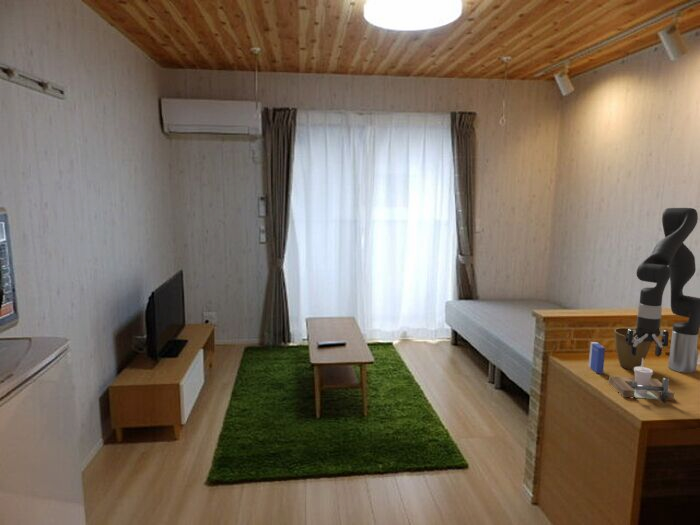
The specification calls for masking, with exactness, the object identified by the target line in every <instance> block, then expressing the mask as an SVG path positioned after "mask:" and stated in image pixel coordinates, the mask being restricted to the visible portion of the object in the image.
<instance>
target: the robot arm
mask: <svg viewBox="0 0 700 525" xmlns="http://www.w3.org/2000/svg"><path fill="white" fill-rule="evenodd" d="M698 218H699V216H698V211H697V210H696V209H695V208H692V207H669V208H668V207H667V208H665V209H664V211H663V213H662V218H661V222H662V229H663V233H664V238H662V239H661V240H660V241H659V242H658V243H656V245H655V246H654V248H653V250H652V252H651V254H650V255H649V256H648V257H646V258H645V259H644V260H643V261H642V262H641V263H640V264H639V265H638V266H637V269H636V272H635V273H636V277H637V278H638V280H640V282H641V281H642V282H646V283H653V284H654V283H655V284H656V285H655V286H653V287H643V288H641V290H640V292H639V293H640V295H639V296H640V297H639V302H638V303H639V304H638V309H637V318H636V328H635V329H636V330H631V329H632V328H631V329H627V334H626V340H625V343H627V344H628V345H630V346H631V347H630V353H631V354H632V355H633V356H636V349H637V347H636V346H637V345H638V344H639V343H641V342H642V341H650V342H652V343H654V344H655V349H654V356H655V357H659V358H660V356H662V353H663V348H664V347H668V346H669V336H670V334H669V333H670V332H669V331H668V330H666V329H664V328H663V329H661V330H660V328H661V322H662V313H663V312H662V311H663V310H662V308H663V307H662V306H663V304H662V303H663V297H664V296H663V295H664V292H665V289H666V287H667V284H668V282H670V284H669V285H670V310H671V312H672V314H673V315H676V316H679V317H685V318H688V320H687V321H685V322H684V321H683V322H676V323H673V324H672V325H673V326H672V332H671V333H672V334H671V341H670V349H669V357H668V364H667V365H668V366H667V367H668V368H669V369H671V371H676V372H679V373H684V374H685V373H686V374H691V373H692V374H693V373H696V372H697V368H698V367H697V366H698V359H699V350H697V349H698V348H697V347H698V340H699V332H700V297H695V296H690V295H685V294H684V293H683V290H684V287H685V286H686V284H687V283H688V282H689V281H690V280H691V279H692V278H693V276H694V275H695V273H696V270H697V269H696V268H697V267H696V259H695V255H694V253H693V252H692V251H691V250H690V248H689V247H688V246H686V244H685V243H684V242H685V241H686V240H687V238H689V236H690V234H691V233H692V232H693V231H694V229H695V228H696V226H697V224H698ZM635 333H636V334H637V335H636V336H635V337H634V339H633V340H632V337H633V335H634V334H635ZM659 336H661V340H660V339H659V338H658V337H659Z"/></svg>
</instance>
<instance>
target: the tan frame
mask: <svg viewBox="0 0 700 525" xmlns="http://www.w3.org/2000/svg"><path fill="white" fill-rule="evenodd" d="M632 381H635V377H632V376H631V377H629V376H628V377H627V376H625V377H624V376H612V375H611V376H609V378H608V384H609V383H610V384H609V385H610V386H611V385H612V386H613V387H614V388H615V389H616V390H617V391H618V392H619V393H620V394H621V395H622V396H621V395H620V394H619V393H618V392H617V391H616V390H615V389H614V388H613V387H612V386H611V387H612V388H613V389H614V390H615V391H616V392H617V393H618V394H619V395H620V396H621V397H622V398H624V397H633V398H632V399H635V398H634V392H635V391H634V390H633V389H632ZM649 386H662V382H661V381H660V380H659V379H658V378H651V379H650V383H649ZM649 391H650V392H651V393H653V394H654V395H655V396H656V397H657V398H658V399H657V400H659V401H660V397H661V391H656V390H649ZM674 396H675V392H673V390H672V389H670V387H668V393H667V401H674V400H675V397H674Z"/></svg>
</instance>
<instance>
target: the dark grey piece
mask: <svg viewBox="0 0 700 525" xmlns="http://www.w3.org/2000/svg"><path fill="white" fill-rule="evenodd" d="M661 381H662V382H661V383H662V386H643V385H637V382H635V381H632V388H633V389H637V390H656V391H661V397H660V400H659V401H660V402H662V403H667V401H668V400H667V393H668V388H669V384H670V379H669V378H667V377H662V380H661Z"/></svg>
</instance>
